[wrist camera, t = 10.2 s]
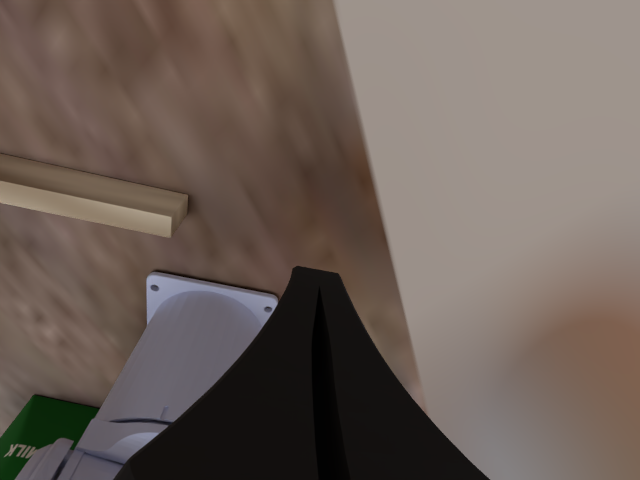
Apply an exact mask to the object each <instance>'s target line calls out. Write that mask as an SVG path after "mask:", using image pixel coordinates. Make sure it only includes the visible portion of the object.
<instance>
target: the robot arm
mask: <svg viewBox="0 0 640 480" xmlns="http://www.w3.org/2000/svg"><path fill="white" fill-rule="evenodd" d="M154 285H157V286H158V287H155V286H154ZM266 307H271V308H266ZM73 442H74V441H72V440H69V439H66V438H59V439H57V440H56V441H55V442H54V444H50V445H47V446H45V447H43V448H41V449H39V450H37V451H36V452H35V453H34V454H33V456H32V457H31V458H30V459H29V461H28V462H27V463H26V465H25V466H24V467H23V469H22V470H21V472H20V473H19V474H18V476H17V477H16V479H15V480H490V479H489V478H488V477H486V476H485V475H484V474H483V473H482V472H481V471H480V470H479V469H478V468H477V467H476V466H475V465H473V464H472V463H471V462H470V461H469V460H468V459H467V458H466V457H465V456H464V455H463V454H462V453H461V451H459V449H458V448H457V447H456V446H455V445H453V443H452V442H451V441H450V440H449V439H448V438H447V437H446V436H445V435H444V434H443V433H442V432H441V431H440V430H439V429H438V427H437V426H436V425H435V424H434V423H433V422H432V421H431V419H430V418H429V417H428V416H427V415H426V414H425V413H424V411H423V410H422V409H421V408H420V407H419V406H418V404H417V403H416V402H415V401H414V400H413V399H412V397H411V396H410V395H409V394H408V392H407V391H406V390H405V388H404V387H403V386H402V384H401V383H400V382H399V380H398V379H397V378H396V376H395V375H394V373H393V372H392V371H391V369H390V368H389V366H388V365H387V363H386V362H385V360H384V359H383V357H382V356H381V354H380V353H379V351H378V349H377V348H376V346H375V344H374V343H373V341H372V339H371V338H370V336H369V334H368V333H367V331H366V329H365V327H364V325H363V323H362V321H361V320H360V318H359V316H358V314H357V312H356V310H355V308H354V306H353V304H352V302H351V300H350V298H349V295H348V293H347V291H346V289H345V286H344V284H343V282H342V279H341V277H340V275H339V274H338V273H334V272H328V271H322V270H317V269H311V268H306V267H300V266H296V267H294V268H293V270H292V274H291V278H290V281H289V283H288V286H287V288H286V290H285V292H284V294H283V296H282V297H281V299H280V301H279V303H278V298H277V297H276V296H275V295H272V294H268V293H263V292H258V291H253V290H247V289H242V288H237V287H232V286H227V285H222V284H217V283H211V282H206V281H201V280H196V279H191V278H186V277H181V276H176V275H170V274H165V273H160V272H151V273H150V274H149V275H148V277H147V327H146V329H145V331H144V332H143V334H142V336H141V338H140V340H139V341H138V343H137V345H136V347H135V348H134V350H133V352H132V354H131V355H130V357H129V359H128V361H127V362H126V364H125V366H124V368H123V369H122V371H121V373H120V375H119V376H118V378H117V380H116V382H115V383H114V385H113V387H112V389H111V390H110V392H109V394H108V396H107V397H106V399H105V401H104V403H103V404H102V406H101V408H100V410H99V411H98V413H97V415H96V417H95V418H94V419H92V420H91V421H90V423H89V425H88V427H87V428H86V430H85V432H84V434H83V435H82V437H81V439H80V441H79V442H78V444H77V446H76V447H75V449H74V451H73V450H70V448H71V446H72V444H73Z"/></svg>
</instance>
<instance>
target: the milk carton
mask: <svg viewBox="0 0 640 480" xmlns="http://www.w3.org/2000/svg"><path fill="white" fill-rule="evenodd" d="M99 410H100V409H98V408H93V407H88V406H84V405H79V404H74V403H70V402H65V401H60V400H55V399H51V398H46V397H41V396H37V395H33V396H32V398H31V399H30V400H29V402H28V403H27V404H26V406H25V407H24V408H23V409H22V411H21V412H20V413H19V415H18V416H17V417H16V418H15V420H14V421H13V422H12V424H11V425H10V426H9V427H8V429H7V430H6V431H5V433H4V434H3V435H2V436H1V438H0V480H15V479H16V477H17V476H18V474H19V473H20V472H21V470H22V469H23V467H24V466H25V465H26V463H27V462H28V461H29V459H30V458H31V457H32V456H33V454H34V453H35V452H36V451H37V450H39V449H41V448H43V447H45V446H47V445H50V444H54V442H55V441H56V440H57V439H59V438H66V439H69V440H72V441H74V442H73V444H72V446H71V448H70V450H73V451H74V449H75V447H76V446H77V444H78V442H79V441H80V439H81V437H82V435H83V434H84V432H85V430H86V428H87V427H88V425H89V423H90V421H91V420H92V419H94V418H95V417H96V415H97V413H98V411H99Z"/></svg>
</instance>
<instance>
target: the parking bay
mask: <svg viewBox="0 0 640 480" xmlns="http://www.w3.org/2000/svg"><path fill="white" fill-rule="evenodd" d="M0 203H4V204H9V205H14V206H19V207H23V208H28V209H33V210H38V211H43V212H48V213H53V214H57V215H62V216H67V217H72V218H77V219H82V220H86V221H91V222H96V223H101V224H106V225H111V226H116V227H120V228H125V229H130V230H135V231H140V232H145V233H150V234H154V235H159V236H164V237H169V238H171V237H172V235H173V234H174V233H175V231H176V230H177V228H178V227H179V225H180V224H181V222H182V221H183V219H184V218H185V217H186V215H187V208H188V195H186V194H182V193H177V192H173V191H168V190H164V189H159V188H155V187H150V186H146V185H141V184H137V183H132V182H128V181H123V180H118V179H114V178H109V177H105V176H100V175H96V174H91V173H87V172H82V171H78V170H73V169H69V168H64V167H60V166H55V165H51V164H46V163H42V162H37V161H32V160H28V159H23V158H19V157H14V156H10V155H5V154H1V153H0Z"/></svg>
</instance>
